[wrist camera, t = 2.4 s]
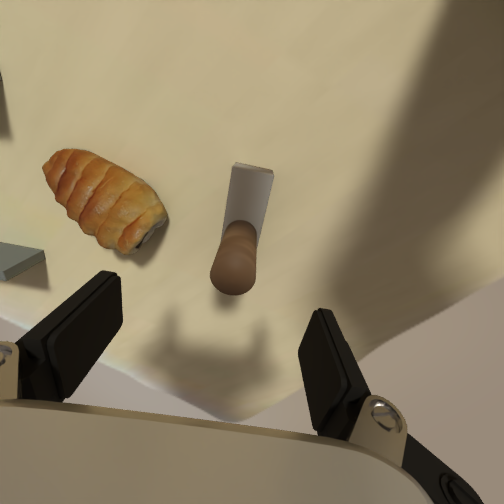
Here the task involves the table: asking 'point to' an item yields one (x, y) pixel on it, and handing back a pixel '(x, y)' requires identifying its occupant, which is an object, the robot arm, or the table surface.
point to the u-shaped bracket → (17, 258)
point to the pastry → (104, 199)
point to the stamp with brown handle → (241, 229)
